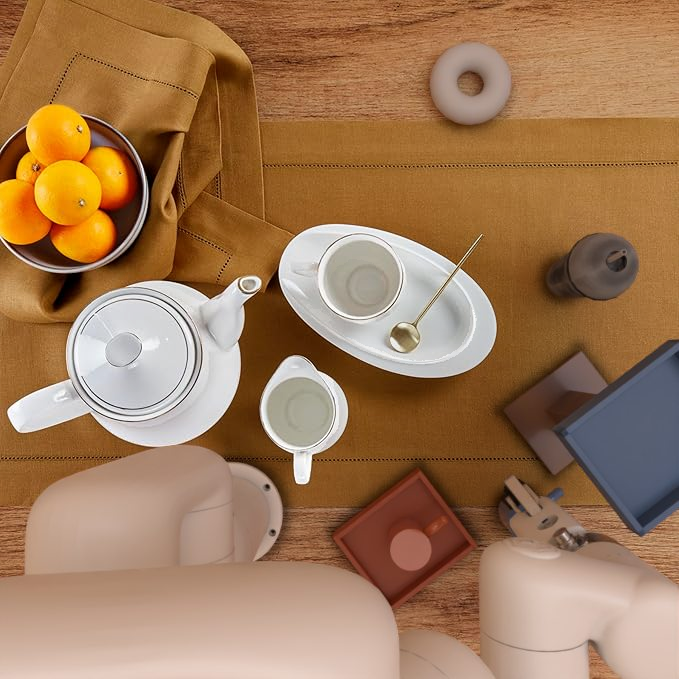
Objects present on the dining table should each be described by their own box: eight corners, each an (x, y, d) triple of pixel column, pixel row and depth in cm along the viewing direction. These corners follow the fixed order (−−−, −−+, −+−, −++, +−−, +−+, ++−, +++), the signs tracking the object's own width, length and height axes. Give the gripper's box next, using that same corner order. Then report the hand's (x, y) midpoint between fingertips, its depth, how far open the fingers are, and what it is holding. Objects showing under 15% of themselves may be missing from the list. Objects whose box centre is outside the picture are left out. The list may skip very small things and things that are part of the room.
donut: (493, 40, 81) (417, 63, 81) (500, 25, 78) (420, 50, 78) (517, 115, 81) (441, 139, 81) (526, 104, 77) (446, 129, 77)
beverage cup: (587, 314, 80) (668, 300, 60) (529, 302, 80) (590, 285, 60) (599, 256, 80) (683, 223, 60) (541, 244, 80) (605, 208, 60)
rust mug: (403, 565, 79) (406, 579, 74) (379, 533, 79) (381, 545, 74) (454, 525, 79) (461, 537, 74) (430, 494, 79) (436, 503, 74)
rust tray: (388, 605, 79) (389, 614, 77) (332, 532, 80) (332, 538, 77) (474, 540, 80) (478, 546, 77) (418, 467, 80) (420, 470, 77)
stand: (551, 474, 80) (629, 520, 58) (501, 409, 80) (560, 430, 58) (628, 415, 80) (736, 438, 58) (578, 350, 80) (667, 348, 58)
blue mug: (514, 538, 80) (525, 550, 75) (490, 507, 80) (499, 517, 75) (565, 499, 80) (579, 509, 75) (541, 467, 80) (554, 475, 75)
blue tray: (628, 529, 58) (641, 537, 55) (551, 429, 58) (560, 432, 55) (746, 439, 58) (764, 443, 55) (668, 339, 58) (682, 338, 56)
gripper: (497, 524, 56) (464, 484, 73) (623, 688, 55) (560, 609, 72) (567, 471, 56) (518, 443, 73) (693, 635, 55) (614, 568, 72)
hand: (539, 526), depth 72 cm, fingers open, 9 cm apart
